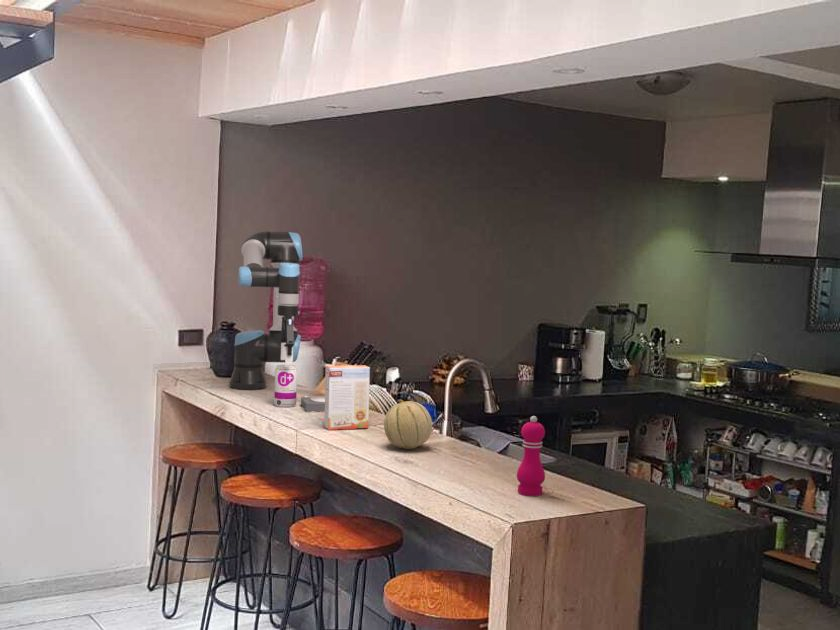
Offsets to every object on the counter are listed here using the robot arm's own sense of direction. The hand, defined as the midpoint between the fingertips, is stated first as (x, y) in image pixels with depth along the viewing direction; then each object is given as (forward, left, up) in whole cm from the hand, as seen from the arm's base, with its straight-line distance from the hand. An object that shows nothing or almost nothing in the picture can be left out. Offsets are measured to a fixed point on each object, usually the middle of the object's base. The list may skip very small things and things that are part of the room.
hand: (286, 362), depth 359 cm
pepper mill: (+129, +47, -17) cm, 138 cm away
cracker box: (+43, +15, -17) cm, 48 cm away
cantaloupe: (+75, +28, -17) cm, 81 cm away
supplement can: (0, 0, -17) cm, 17 cm away
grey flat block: (+6, +14, -16) cm, 22 cm away
